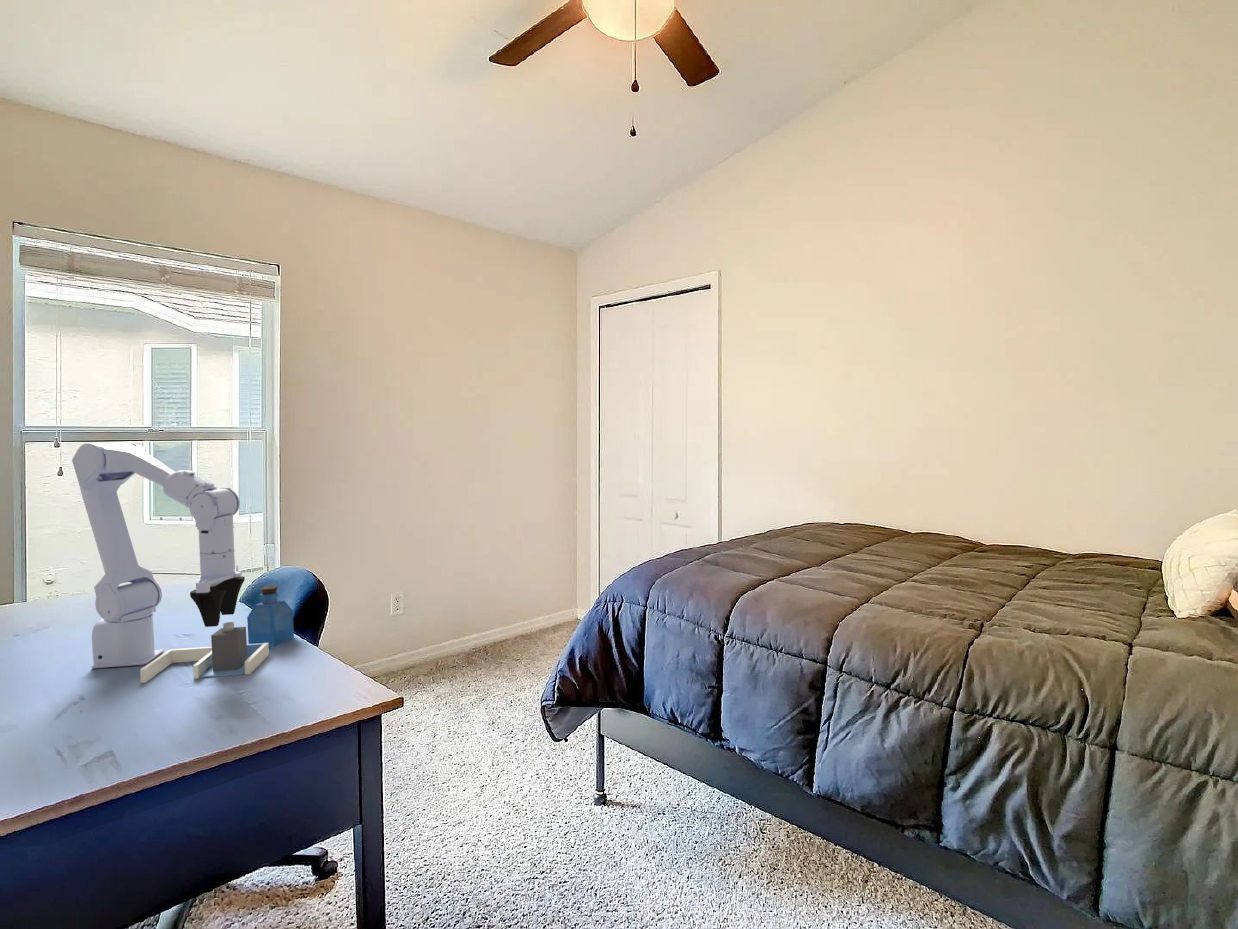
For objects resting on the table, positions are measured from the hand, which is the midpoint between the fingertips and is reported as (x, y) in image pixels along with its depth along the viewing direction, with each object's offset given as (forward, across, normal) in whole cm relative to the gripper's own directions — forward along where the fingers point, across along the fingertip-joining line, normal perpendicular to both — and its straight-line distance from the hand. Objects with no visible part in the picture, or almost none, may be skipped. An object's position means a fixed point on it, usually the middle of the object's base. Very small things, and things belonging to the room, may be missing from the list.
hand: (220, 620), depth 126 cm
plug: (+9, -1, -2) cm, 9 cm away
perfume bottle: (+10, +14, -5) cm, 17 cm away
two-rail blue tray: (+9, -1, +2) cm, 10 cm away
